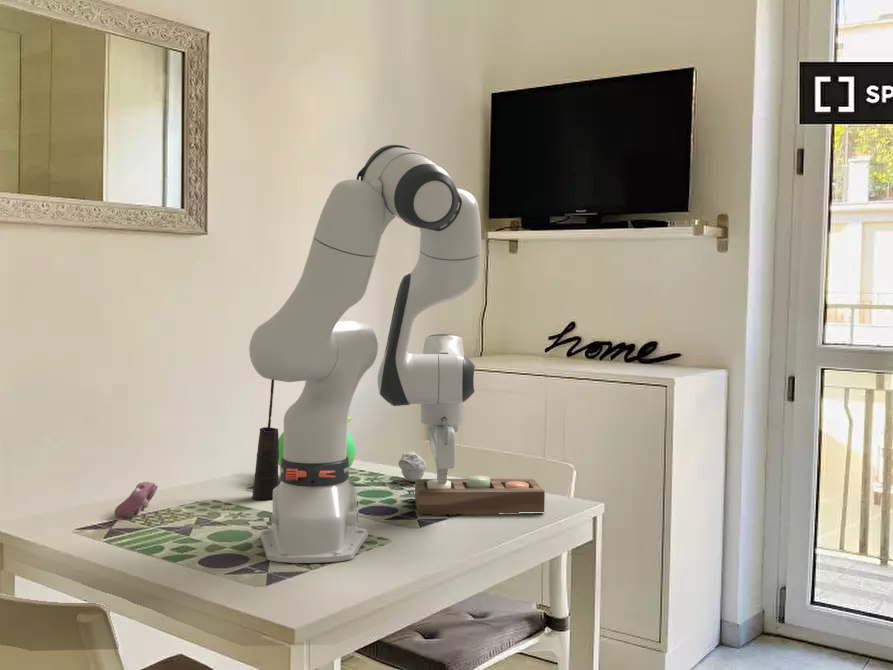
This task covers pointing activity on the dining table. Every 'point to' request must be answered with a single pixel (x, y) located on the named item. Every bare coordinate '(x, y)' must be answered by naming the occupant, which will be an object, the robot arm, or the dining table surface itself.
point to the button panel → (478, 498)
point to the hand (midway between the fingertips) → (441, 482)
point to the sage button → (478, 482)
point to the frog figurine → (412, 466)
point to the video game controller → (136, 500)
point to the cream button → (438, 485)
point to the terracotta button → (516, 484)
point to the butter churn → (267, 459)
